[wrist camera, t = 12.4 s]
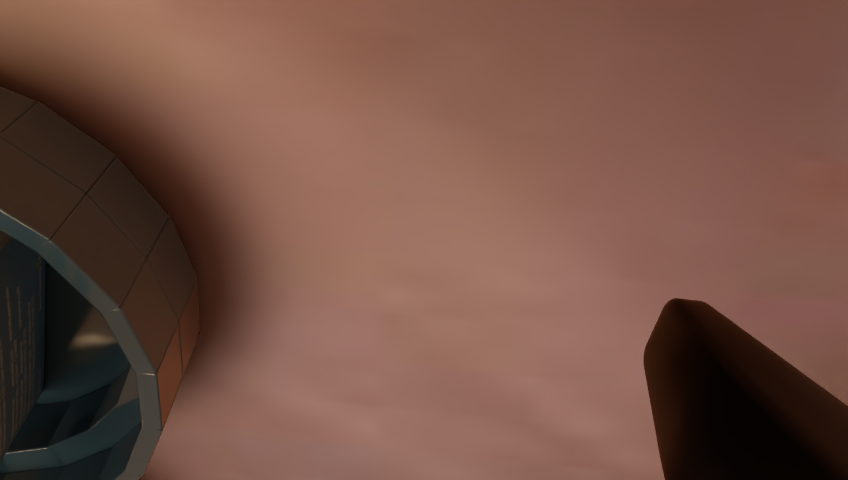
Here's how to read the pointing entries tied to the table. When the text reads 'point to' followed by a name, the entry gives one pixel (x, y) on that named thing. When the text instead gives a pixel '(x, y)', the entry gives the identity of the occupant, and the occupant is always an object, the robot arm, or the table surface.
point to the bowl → (94, 300)
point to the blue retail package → (20, 335)
